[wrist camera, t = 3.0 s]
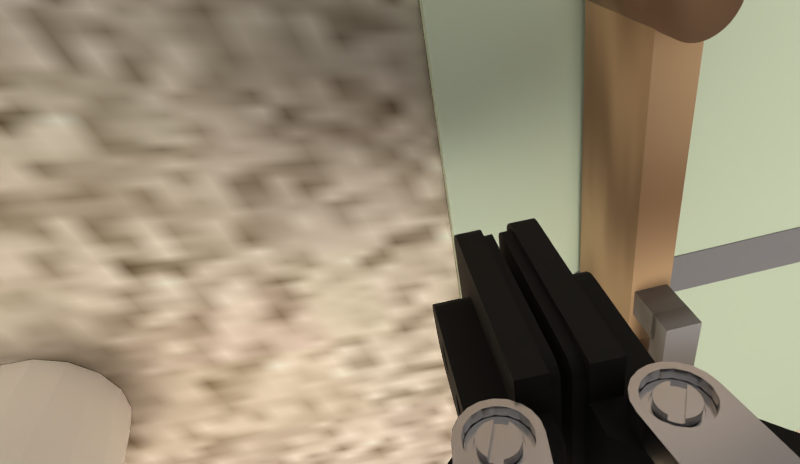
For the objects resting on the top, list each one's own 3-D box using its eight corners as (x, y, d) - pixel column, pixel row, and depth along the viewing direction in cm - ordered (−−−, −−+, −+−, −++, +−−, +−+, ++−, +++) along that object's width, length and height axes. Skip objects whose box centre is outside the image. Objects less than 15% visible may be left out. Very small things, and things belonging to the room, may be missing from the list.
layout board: (412, -51, 14) (415, -49, 14) (1022, -178, 15) (1041, -180, 15) (488, 499, 29) (490, 508, 28) (798, 421, 30) (804, 429, 29)
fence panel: (568, -61, 14) (698, -30, 10) (650, -79, 14) (818, -56, 10) (566, 326, 22) (638, 445, 17) (620, 313, 22) (706, 429, 17)
